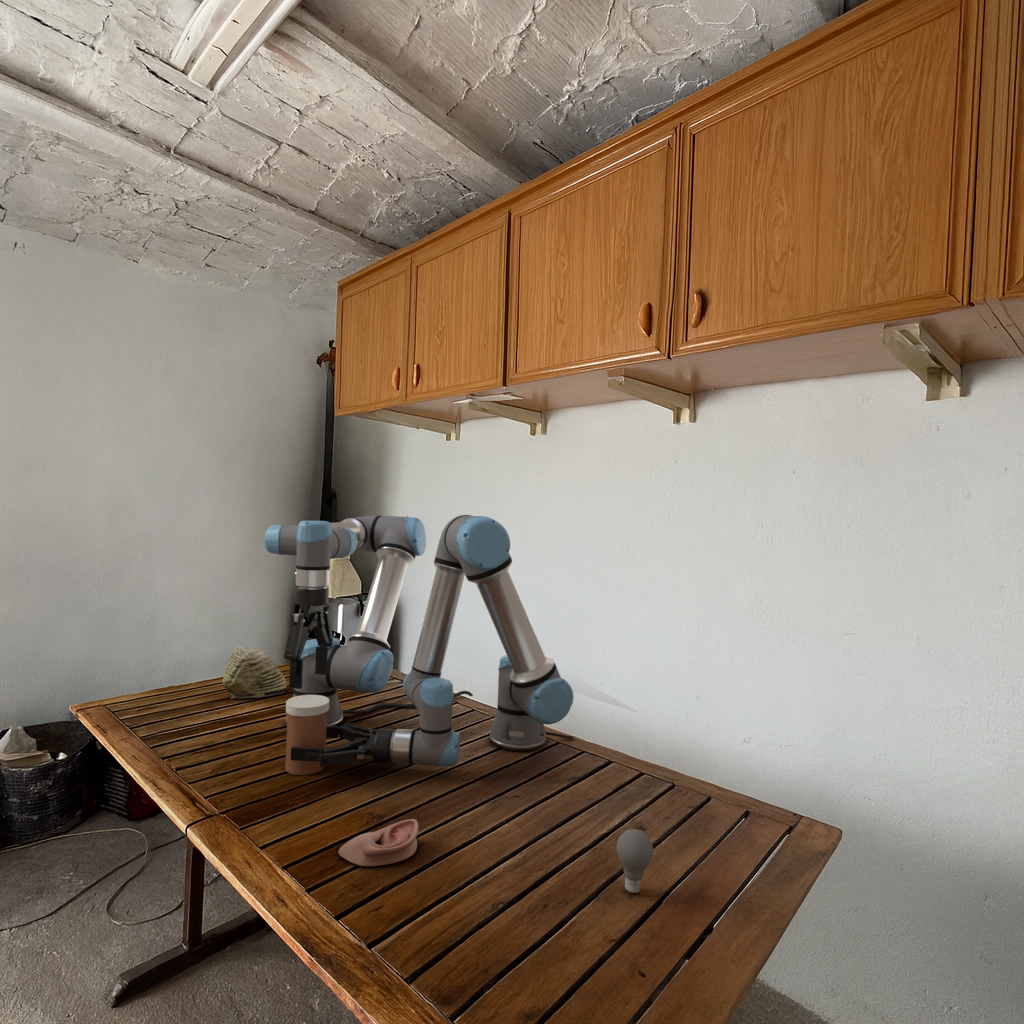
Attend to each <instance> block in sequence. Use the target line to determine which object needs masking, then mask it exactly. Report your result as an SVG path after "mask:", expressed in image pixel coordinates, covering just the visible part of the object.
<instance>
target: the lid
mask: <svg viewBox="0 0 1024 1024" xmlns="http://www.w3.org/2000/svg"><path fill="white" fill-rule="evenodd" d="M328 710H329V698H327V697H325V696H321V695H301V696H296V697H290V698H289V699H287V700H286V701H285V713H286V714H287V713H288V714H290V715H293V716H301V717H305V716H315V715H320V714H323V713H325V712H327V711H328Z"/></svg>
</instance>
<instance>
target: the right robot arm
mask: <svg viewBox="0 0 1024 1024" xmlns="http://www.w3.org/2000/svg"><path fill="white" fill-rule="evenodd" d="M510 550H511V539H510V535H509V533H508V530H507V529H506V528H505V527H504V525H503V524H502V523H500V521H497V520H495V519H493V518H492V517H490V516H484V515H471V514H461V515H457V516H455V517H453V518H452V519H450V520H449V521H448V522H447V523H446V524H445V526H444V527H443V529H442V531H441V535H440V537H439V540H438V544H437V549H436V553H435V557H434V561H433V565H434V566H435V568H436V569H435V573H434V578H433V582H432V585H431V589H430V594H429V598H428V602H427V606H426V609H425V614H424V617H423V621H422V625H421V631H420V635H419V638H418V642H417V646H416V651H415V655H414V659H413V663H412V666H411V668H410V669H411V670H410V671H409V672H408V673H407V675H405V678H404V679H403V683H402V688H403V691H404V694H405V696H406V699H408V700H409V702H411V704H414V705H415V707H414V708H416V710H417V711H418V712H419V725H418V729H419V730H417V729H405V728H404V729H403V728H396V730H394V729H393V728H378V729H377V728H369V727H365V726H362V725H358V724H354V723H351V722H344V724H341V725H339V726H327V736H326V739H339V740H343V739H344V740H346V741H348V743H347V744H344V745H339V746H336V747H330V748H326V750H324V749H323V748H322V747H320V748H307V747H292V748H291V760H297V761H317V762H319V763H320V767H324V768H326V767H332V766H340V765H346V764H353V763H361V764H362V763H366V761H367V757H371V756H372V758H373V762H374V763H375V764H387V765H389V764H390V763H391V762H392V764H395V765H402V766H404V767H405V766H407V765H418V766H431V767H438V768H439V767H455V766H456V765H457V764H458V762H459V759H460V751H461V734H460V733H459V732H457V731H454V730H453V726H452V724H453V723H452V721H453V706H454V705H453V704H454V699H455V698H454V684H453V682H452V681H451V680H450V679H447V678H444V677H441V676H442V671H443V668H444V663H445V659H446V656H447V652H448V648H449V644H450V639H451V635H452V631H453V628H454V624H455V619H456V615H457V612H458V607H459V603H460V600H461V596H462V591H463V588H464V584H465V579H466V580H467V581H468V582H470V583H472V584H475V585H476V587H477V589H478V591H479V594H480V596H481V599H482V601H483V603H484V605H485V608H486V610H487V612H488V614H489V617H490V619H491V622H492V624H493V627H494V629H495V631H496V634H497V635H498V638H499V640H500V642H501V645H502V647H503V650H504V652H505V654H506V655H503V656H501V657H500V659H499V664H498V684H497V709H496V713H495V716H494V719H493V722H492V724H491V726H490V729H489V733H488V734H489V735H488V738H489V739H488V740H489V742H490V744H492V745H493V746H495V747H497V748H499V749H502V750H507V751H512V752H529V751H535V750H538V749H541V748H543V747H544V746H545V745H546V743H547V736H553V737H559V738H563V739H568V740H573V739H574V736H573V735H565V734H561V733H556V732H550V731H546V728H545V725H554V724H556V723H558V722H560V721H562V720H563V719H564V718H566V716H567V715H568V714H569V712H570V711H571V708H572V706H573V704H574V691H573V688H572V686H571V685H570V684H569V682H568V681H567V680H566V679H564V678H562V677H561V674H560V672H559V669H558V667H557V665H556V663H555V660H554V658H553V657H551V656H549V655H546V654H545V652H544V649H543V647H542V644H541V642H540V639H539V637H538V635H537V633H536V630H535V628H534V626H533V623H532V620H531V618H530V616H529V614H528V611H527V609H526V606H525V604H524V601H523V598H522V596H521V594H520V592H519V589H518V587H517V585H516V582H515V579H514V577H513V575H512V572H511V570H510V569H511V567H512V565H513V561H514V560H513V558H512V556H511V554H510Z"/></svg>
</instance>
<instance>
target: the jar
mask: <svg viewBox="0 0 1024 1024" xmlns="http://www.w3.org/2000/svg"><path fill="white" fill-rule="evenodd" d="M286 715H287V726H286V736H285V759H284V760H285V761H284V769H285V771H286V773H288V774H291V775H295V776H296V775H297V776H307V775H313V774H316V773H319V772H321V771H322V770H324V769H325V767H320V763H319V762H317V761H297V760H291V748H292V747H307V748H320V747H322V748H323V749H324V750H326V749H327V738H326V736H327V712H325V713H323V714H320V715H315V716H305V717H301V716H293V715H290V714H288V713H286Z"/></svg>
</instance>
